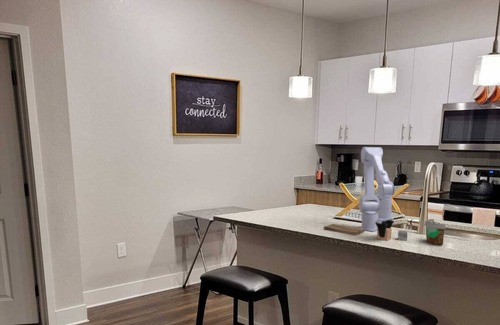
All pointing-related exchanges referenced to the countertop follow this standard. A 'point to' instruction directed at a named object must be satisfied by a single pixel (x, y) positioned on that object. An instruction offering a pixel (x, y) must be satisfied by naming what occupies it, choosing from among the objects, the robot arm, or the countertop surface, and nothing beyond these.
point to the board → (344, 229)
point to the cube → (387, 234)
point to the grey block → (402, 235)
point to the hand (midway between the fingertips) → (384, 235)
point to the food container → (434, 232)
